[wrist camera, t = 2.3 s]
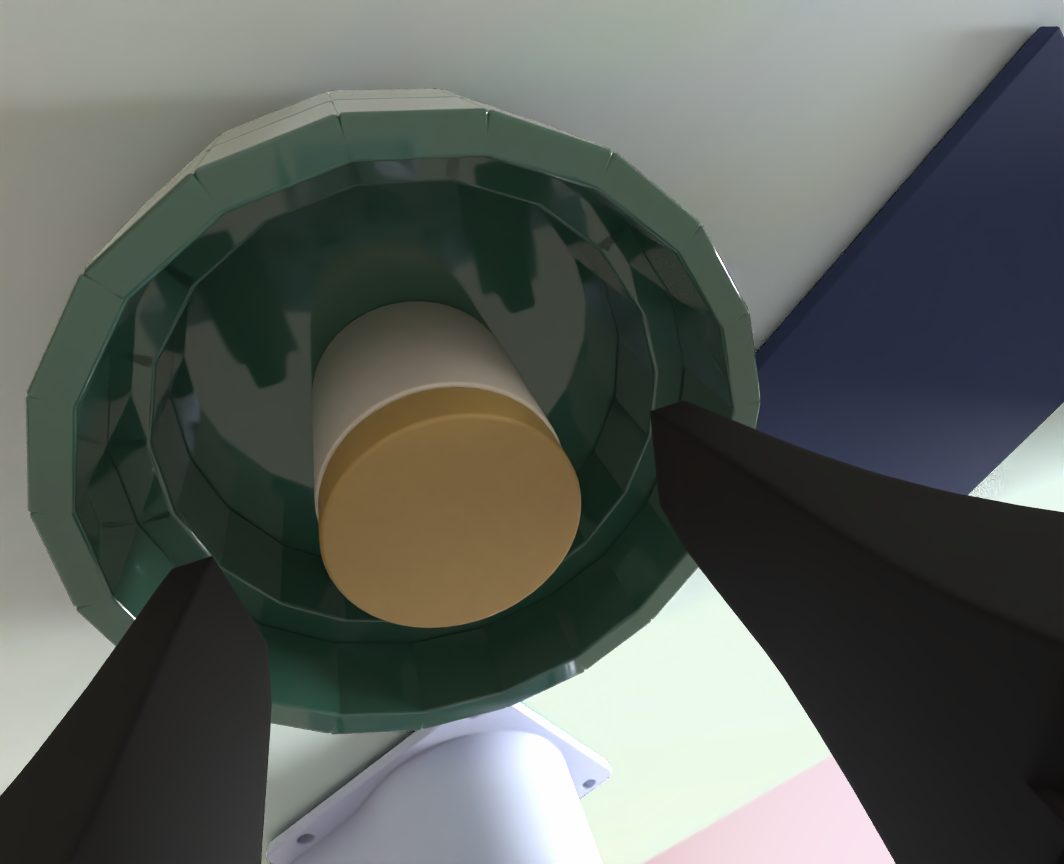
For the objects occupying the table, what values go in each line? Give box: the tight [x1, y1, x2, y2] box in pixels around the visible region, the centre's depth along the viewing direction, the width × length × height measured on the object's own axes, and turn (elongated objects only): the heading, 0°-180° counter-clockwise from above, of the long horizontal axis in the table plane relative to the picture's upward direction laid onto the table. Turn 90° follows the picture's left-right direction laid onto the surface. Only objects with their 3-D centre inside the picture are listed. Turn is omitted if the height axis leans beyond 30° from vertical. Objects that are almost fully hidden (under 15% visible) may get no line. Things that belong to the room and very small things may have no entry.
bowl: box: [26, 88, 761, 734], centre depth 14 cm, size 12×12×4 cm
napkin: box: [755, 26, 1064, 495], centre depth 19 cm, size 12×11×1 cm
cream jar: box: [312, 301, 581, 628], centre depth 13 cm, size 4×4×5 cm
